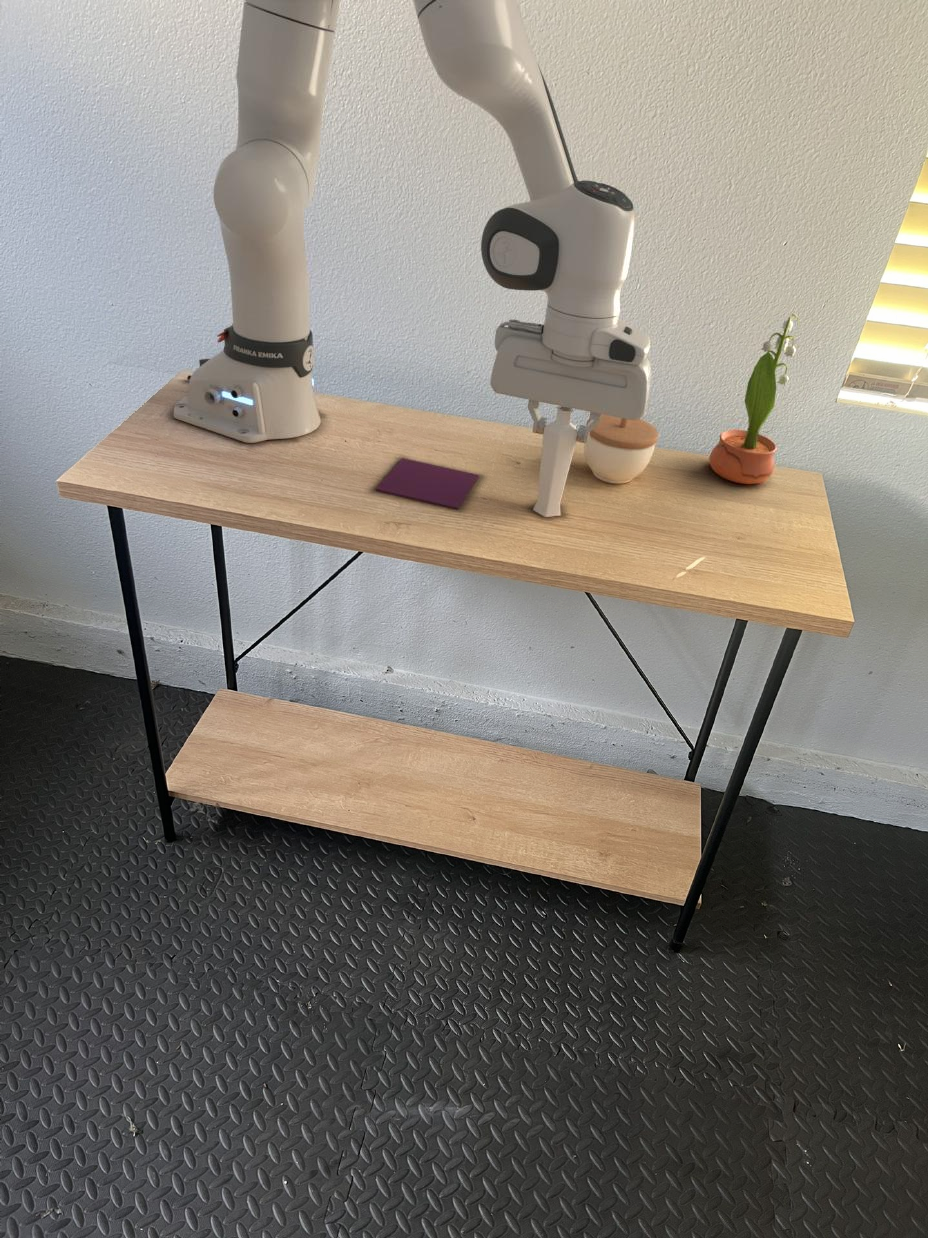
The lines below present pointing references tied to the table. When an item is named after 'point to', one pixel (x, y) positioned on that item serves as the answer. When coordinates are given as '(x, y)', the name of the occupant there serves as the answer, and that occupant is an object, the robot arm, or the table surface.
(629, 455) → the trinket box
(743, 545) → the table surface
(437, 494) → the cloth
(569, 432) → the white faceted vase
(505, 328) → the robot arm
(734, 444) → the potted flower
